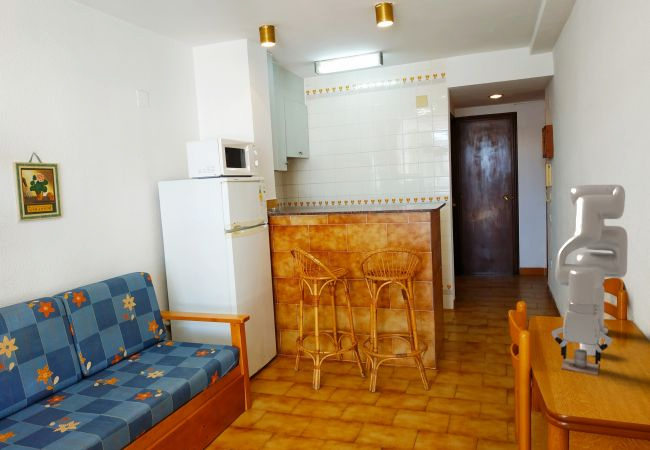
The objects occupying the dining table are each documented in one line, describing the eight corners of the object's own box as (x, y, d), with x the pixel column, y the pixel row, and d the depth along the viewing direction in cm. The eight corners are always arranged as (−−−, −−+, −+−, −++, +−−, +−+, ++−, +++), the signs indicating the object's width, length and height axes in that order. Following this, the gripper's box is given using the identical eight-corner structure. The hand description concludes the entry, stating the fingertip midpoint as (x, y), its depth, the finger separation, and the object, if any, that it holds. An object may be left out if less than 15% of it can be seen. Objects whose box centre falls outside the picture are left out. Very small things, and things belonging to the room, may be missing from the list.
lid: (564, 360, 154) (564, 343, 153) (598, 365, 149) (599, 348, 148) (561, 370, 146) (561, 353, 145) (597, 376, 140) (598, 358, 140)
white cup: (604, 357, 155) (604, 336, 154) (582, 355, 156) (582, 336, 155) (596, 349, 161) (597, 330, 161) (575, 348, 163) (575, 329, 162)
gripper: (613, 308, 144) (612, 361, 145) (552, 302, 153) (551, 352, 155) (613, 314, 138) (612, 369, 139) (550, 307, 147) (549, 359, 148)
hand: (580, 360), depth 147 cm, fingers open, 8 cm apart
